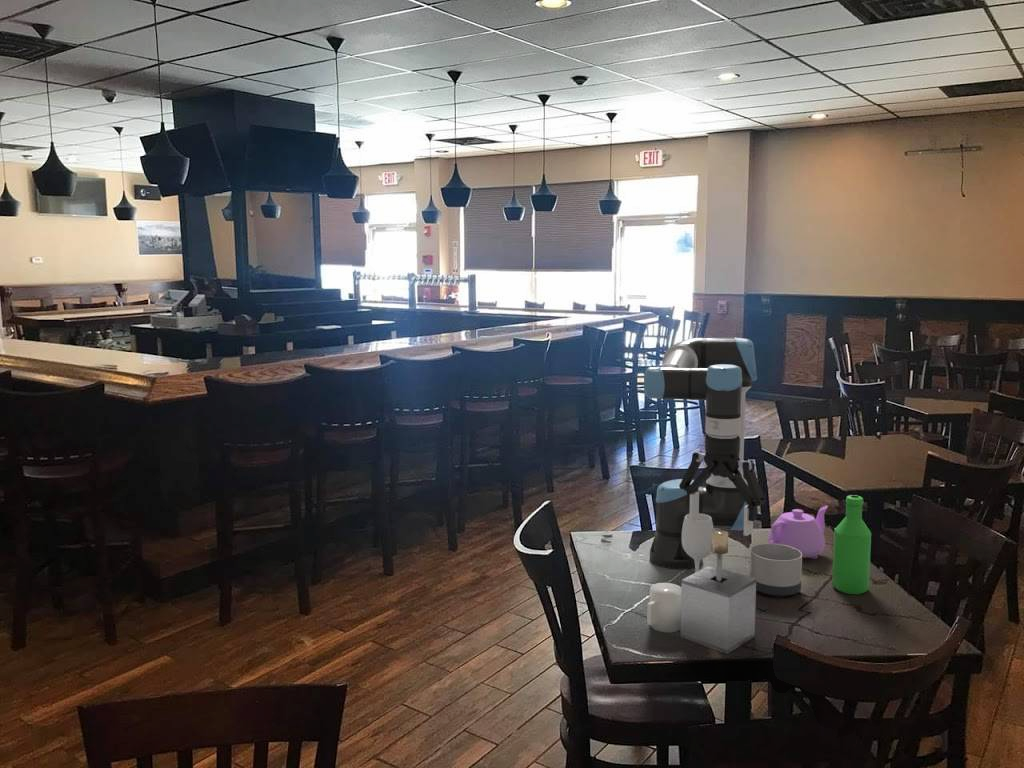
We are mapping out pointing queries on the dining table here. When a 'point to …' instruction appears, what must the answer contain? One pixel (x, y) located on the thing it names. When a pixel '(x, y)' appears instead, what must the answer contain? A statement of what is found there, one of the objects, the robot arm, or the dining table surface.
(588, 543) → the dining table surface
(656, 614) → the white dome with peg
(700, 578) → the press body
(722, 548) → the plunger
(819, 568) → the dining table surface
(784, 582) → the planter
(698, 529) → the wineglass
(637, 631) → the dining table surface
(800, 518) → the teapot
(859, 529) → the bottle
